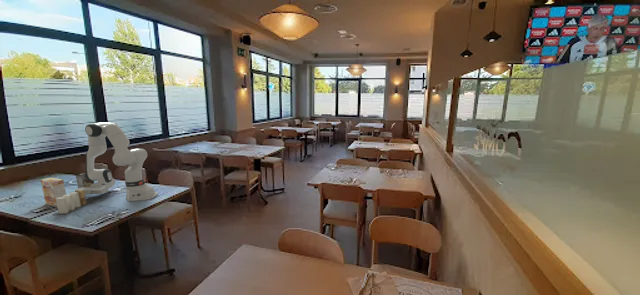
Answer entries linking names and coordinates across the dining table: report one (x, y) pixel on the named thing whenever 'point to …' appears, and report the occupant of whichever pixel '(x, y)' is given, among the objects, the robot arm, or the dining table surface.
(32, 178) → the dining table surface
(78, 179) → the coffee box
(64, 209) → the tile
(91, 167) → the robot arm
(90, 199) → the mat
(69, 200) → the tile
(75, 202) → the tile
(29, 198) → the dining table surface
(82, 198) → the wooden block
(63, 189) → the coffeecake box
